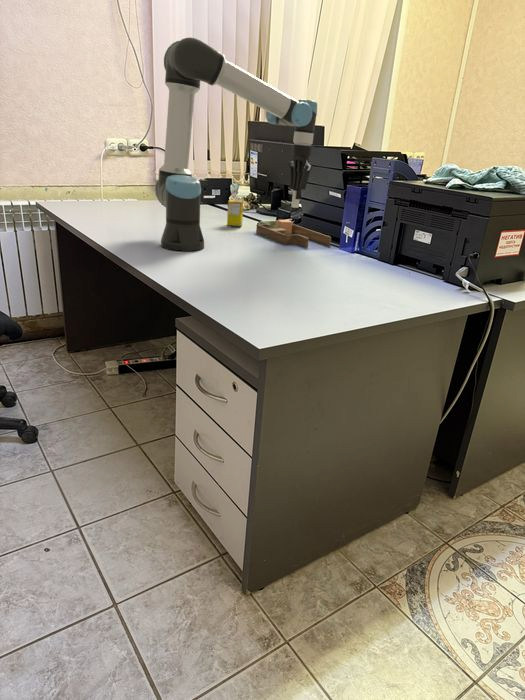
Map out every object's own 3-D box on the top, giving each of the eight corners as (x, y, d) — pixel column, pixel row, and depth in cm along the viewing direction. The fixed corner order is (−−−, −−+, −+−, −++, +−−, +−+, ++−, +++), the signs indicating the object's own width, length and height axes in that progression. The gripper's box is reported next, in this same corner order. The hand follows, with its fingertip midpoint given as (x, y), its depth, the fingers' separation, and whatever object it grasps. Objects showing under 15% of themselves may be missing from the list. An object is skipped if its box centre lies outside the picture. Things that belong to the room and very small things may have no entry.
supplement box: (242, 225, 223) (243, 200, 219) (240, 228, 218) (241, 202, 213) (229, 224, 224) (230, 199, 219) (226, 226, 218) (227, 200, 214)
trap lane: (294, 248, 189) (295, 238, 188) (248, 229, 215) (248, 221, 214) (330, 245, 198) (331, 236, 196) (281, 228, 224) (282, 220, 222)
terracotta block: (280, 233, 213) (281, 221, 211) (276, 231, 218) (277, 219, 216) (291, 233, 215) (292, 222, 213) (287, 231, 219) (288, 219, 217)
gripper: (320, 146, 190) (311, 210, 200) (300, 144, 200) (293, 204, 209) (304, 145, 186) (296, 210, 196) (285, 142, 196) (278, 204, 206)
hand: (294, 207), depth 203 cm, fingers closed
